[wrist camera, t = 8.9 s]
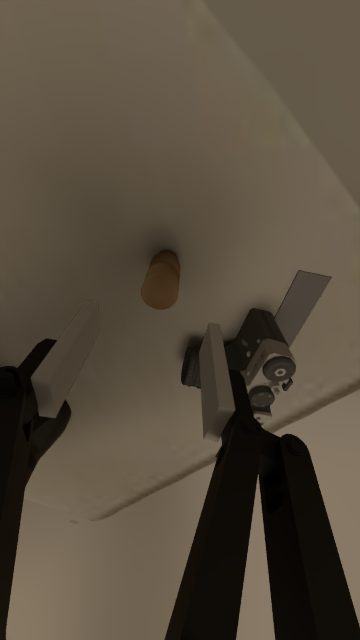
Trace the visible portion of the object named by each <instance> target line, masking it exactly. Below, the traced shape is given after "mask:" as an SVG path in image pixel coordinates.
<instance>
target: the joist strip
mask: <svg viewBox="0 0 360 640" xmlns="http://www.w3.org/2000/svg"><path fill="white" fill-rule="evenodd" d="M331 278H332V277H328V276H323V275H318V274H313V273H309V272H304V271H298V273H297V275H296V277H295V279H294V281H293V283H292V285H291V287H290V289H289V291H288V293H287V295H286V296H285V298H284V300H283V302H282V304H281V306H280V308H279V310H278V312H277V314H276V316H275V318H274V319H275V321H276V323H277V325H278V327H279V329H280V330H281V332H282V334H283V336H284V338H285V340H286V342H287V343H288V346H289V347H290V346H291V344H292V342H293V341H294V339H295V337H296V336H297V334H298V333H299V331H300V329H301V328H302V326H303V324H304V323H305V321H306V319H307V318H308V316H309V314H310V313H311V311H312V309H313V308H314V306H315V304H316V303H317V301H318V299H319V298H320V296H321V294H322V293H323V291H324V289H325V288H326V286H327V284H328V283H329V281H330V280H331Z"/></svg>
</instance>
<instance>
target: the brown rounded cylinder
mask: <svg viewBox="0 0 360 640" xmlns="http://www.w3.org/2000/svg"><path fill="white" fill-rule="evenodd" d="M179 277H180V263H179V261H178V259H177V257H176V255H175V254H174V253H173V252H172V251H169V250H164V251H161V252H160V253H159V254H157V255H156V256H154V257H153V259H152V261H151V263H150V266H149V269H148V271H147V274H146V277H145V279H144V282H143V285H142V288H141V296H142V299H143V300H144V302H145V303H146V304H147V305H148V306H150V307H152V308H155V309H167V308H169V307H171V306H172V305H173V304H174V303H175V302H176V300H177V298H178V289H179Z"/></svg>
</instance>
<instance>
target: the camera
mask: <svg viewBox="0 0 360 640" xmlns="http://www.w3.org/2000/svg"><path fill="white" fill-rule="evenodd" d="M224 350H225V356H226V361H227V366H228V369H233V370H238V371H240V373H241V374H242V375H243V377H244V379H245V383H246V387H247V391H248V392H247V393H248V395H249V399H250V403H251V407H252V411H253V415H254V418H255V419H257V421H258V422H259V423H260V424H261V426H262V427H264V425H263V424H264V423H265V422H266V420H267V419H268V418H270V419H271V417H272V414H271V411H270V405H271V404H272V403H273V402H274V400H275V397H274V395H279V394H280V389H281V385H282V388H283V390H284V391H287V390H288V388H289V387H290V386H291V385H292V383H293V381H292V379H291V377H292V375H293V374H294V373H295V370H296V361H295V359H294V357H293V355H292V353H291V352H290V350H289V346H288V343H287V342H286V340H285V338H284V336H283V334H282V332H281V330H280V329H279V327H278V325H277V323H276V321H275V319H274V317H273V315H272V314H271V313H270V312H266V311H262V310H258V309H252V310H250V312H249V314H248V316H247V318H246V320H245V322H244V324H243V326H242V328H241V330H240V332H239V334H238V336H237V338H236V340H235V341H233V342H232V343H230V344H228V345H227V346H225V347H224ZM199 351H200V349H198V347H192V346H191V347H189V348H188V349H187V352H186V354H185V358H184V362H183V366H182V373H181V382H182V384H183V385H187V386H189V387H190V386H194V387H197V388H199V389H201V379H200V360H199Z"/></svg>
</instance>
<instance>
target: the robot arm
mask: <svg viewBox="0 0 360 640" xmlns="http://www.w3.org/2000/svg"><path fill="white" fill-rule="evenodd" d="M98 313H99V302H95V301H90V300H86V302H85V303H84V304H83V306H82V307H81V309H80V310H79V311H78V313H77V314H76V315H75V317H74V318H73V320H72V321H71V322H70V324H69V325H68V327H67V328H66V329H65V331H64V332H63V333H62V335H61V336H60V338H59V339H58V340H52V339H45V340H43V341H41V342H40V343H38V344H37V345H36V346H35V347H34V349H33V350H32V352H30V354H29V355H28V356H27V358H25V360H24V361H23V362H22V363H21V365H20V366H19V367H18V368H16V367H13V366H5V367H0V640H6V625H7V617H8V609H9V602H10V595H11V587H12V580H13V572H14V565H15V558H16V550H17V543H18V534H19V528H20V520H21V513H22V506H23V498H24V491H25V487H26V485H27V483H28V481H29V479H30V476H31V474H32V472H33V470H34V468H35V466H36V464H37V462H38V461H39V459H40V458H41V457H42V456H43V455H44V454H45V452H46V451H47V450H48V449H49V448H50V447H51V446H52V445H53V443H54V442H55V441H56V440H57V439H58V438H59V437H60V435H61V434H62V433H63V432H64V430H65V429H66V426H67V424H68V422H69V420H70V417H71V412H70V409H69V406H68V405H67V403H66V402H65V399H66V397H67V395H68V393H69V391H70V389H71V387H72V385H73V383H74V381H75V379H76V377H77V375H78V373H79V371H80V369H81V367H82V366H83V364H84V362H85V360H86V358H87V356H88V354H89V352H90V350H91V348H92V346H93V344H94V342H95V340H96V338H97V336H98ZM199 360H200V379H201V399H202V418H203V438H204V439H205V440H212V441H218V440H219V439H220V437H221V438H222V446H221V448H220V449H219V451H218V453H217V455H216V457H217V460H216V464H215V467H214V471H213V474H212V478H211V481H210V485H209V488H208V491H207V495H206V499H205V502H204V506H203V509H202V512H201V516H200V519H199V523H198V526H197V529H196V533H195V536H194V540H193V543H192V547H191V550H190V554H189V557H188V560H187V564H186V567H185V571H184V575H183V578H182V581H181V585H180V588H179V592H178V595H177V599H176V602H175V606H174V609H173V613H172V616H171V619H170V623H169V627H168V630H167V633H166V637H165V640H236V634H237V627H238V620H239V612H240V605H241V597H242V590H243V582H244V575H245V567H246V560H247V552H248V545H249V537H250V530H251V522H252V514H253V507H254V499H255V491H256V484H257V477H258V475H259V484H260V493H261V503H262V513H263V523H264V533H265V542H266V553H267V563H268V571H269V572H268V573H269V582H270V592H271V602H272V612H273V622H274V632H275V640H360V627H359V623H358V620H357V616H356V613H355V610H354V606H353V603H352V599H351V596H350V592H349V588H348V585H347V582H346V578H345V575H344V571H343V568H342V564H341V561H340V557H339V554H338V551H337V547H336V543H335V540H334V536H333V533H332V529H331V526H330V523H329V519H328V515H327V512H326V509H325V505H324V502H323V498H322V495H321V491H320V488H319V484H318V481H317V477H316V474H315V470H314V467H313V463H312V460H311V456H310V453H309V450H308V448H307V446H306V445H305V444H304V442H303V441H302V440H300V439H299V438H298V437H296V436H294V435H292V434H285V435H283V436H282V437H278V436H276V435H274V434H272V433H270V432H268V431H266V430H264V429H263V428H262V426H261V424H260V423H259V422H258V421H257V419H255V418H254V415H253V411H252V407H251V403H250V399H249V395H248V393H247V392H248V391H247V387H246V383H245V379H244V377H243V375H242V374H241V373H240V371H238V370H233V369H228V366H227V361H226V356H225V350H224V345H223V339H222V334H221V328H220V325H219V324H214V323H209V324H208V327H207V330H206V333H205V336H204V339H203V342H202V345H201V348H200V351H199Z"/></svg>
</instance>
